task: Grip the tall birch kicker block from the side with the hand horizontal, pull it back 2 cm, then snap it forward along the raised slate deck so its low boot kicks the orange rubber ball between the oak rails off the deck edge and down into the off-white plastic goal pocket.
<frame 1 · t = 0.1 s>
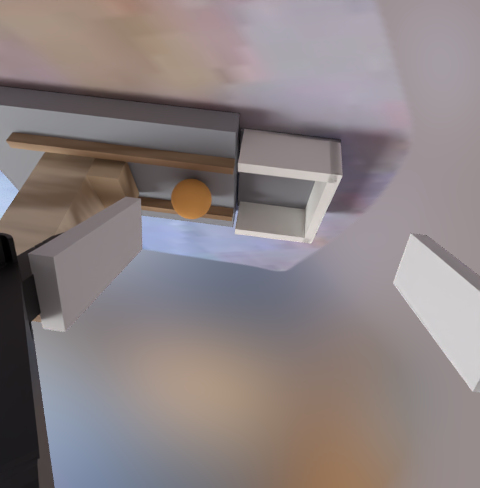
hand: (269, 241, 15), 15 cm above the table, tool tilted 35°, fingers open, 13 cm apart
ball: (195, 184, 31), point 2 cm above the table, touching deck
lane rails: (133, 176, 32), resting on deck
kicker: (64, 233, 28), point 10 cm above the table, slide at 2.0 cm
deck: (118, 156, 33), on the table
goal: (281, 176, 32), on the table
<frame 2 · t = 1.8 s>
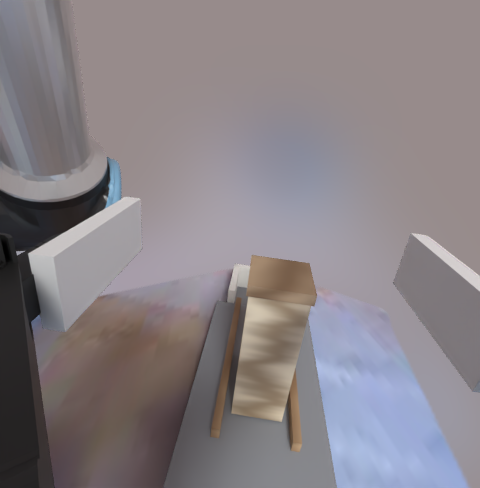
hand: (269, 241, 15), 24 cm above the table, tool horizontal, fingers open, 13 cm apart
lane rails: (259, 358, 37), resting on deck
kicker: (268, 331, 30), point 10 cm above the table, slide at 2.0 cm
deck: (255, 389, 36), on the table
goal: (260, 303, 52), on the table
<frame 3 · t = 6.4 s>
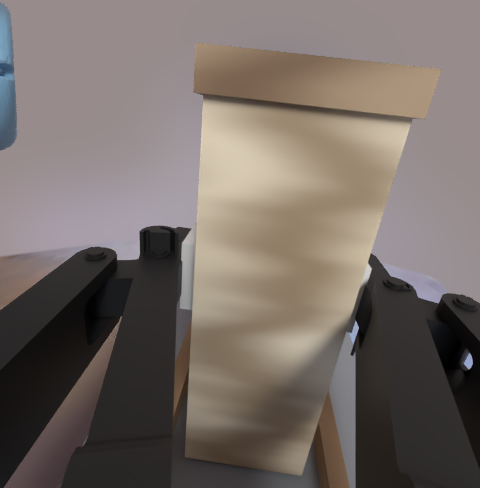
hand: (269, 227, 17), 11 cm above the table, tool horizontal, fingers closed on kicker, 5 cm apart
lane rails: (251, 340, 20), resting on deck
kicker: (268, 268, 13), point 10 cm above the table, slide at 2.0 cm, touching gripper
deck: (244, 399, 19), on the table
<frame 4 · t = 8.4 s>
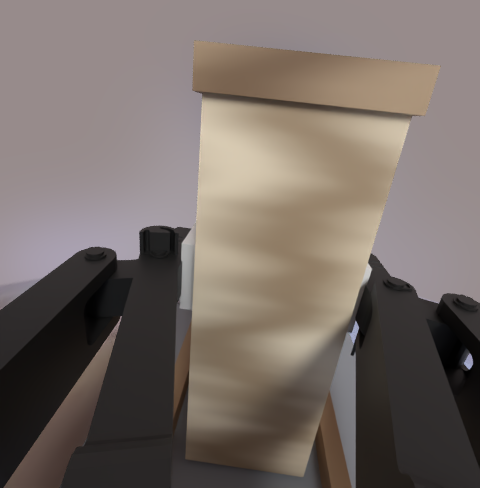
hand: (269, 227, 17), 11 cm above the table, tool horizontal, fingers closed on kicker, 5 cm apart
lane rails: (244, 455, 13), resting on deck
kicker: (268, 268, 13), point 10 cm above the table, slide at 9.4 cm, touching gripper
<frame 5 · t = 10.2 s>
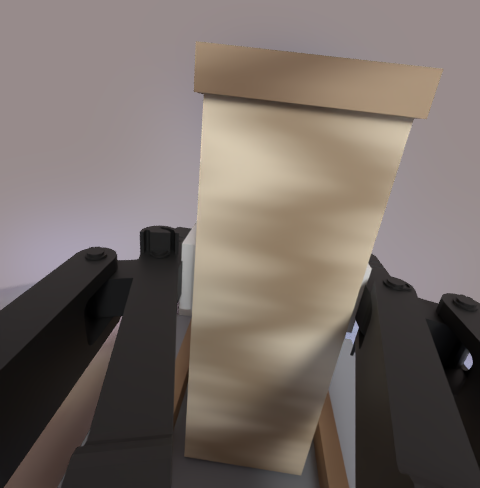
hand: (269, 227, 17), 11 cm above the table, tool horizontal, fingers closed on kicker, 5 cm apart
kicker: (268, 267, 13), point 10 cm above the table, slide at 10.9 cm, touching gripper
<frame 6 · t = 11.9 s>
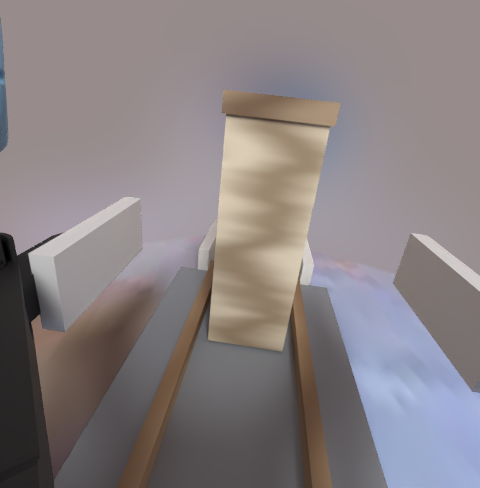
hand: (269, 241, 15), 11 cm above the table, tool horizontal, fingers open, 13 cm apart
lane rails: (243, 358, 19), resting on deck
kicker: (262, 220, 21), point 10 cm above the table, slide at 10.9 cm
deck: (234, 421, 18), on the table
goal: (252, 275, 34), on the table
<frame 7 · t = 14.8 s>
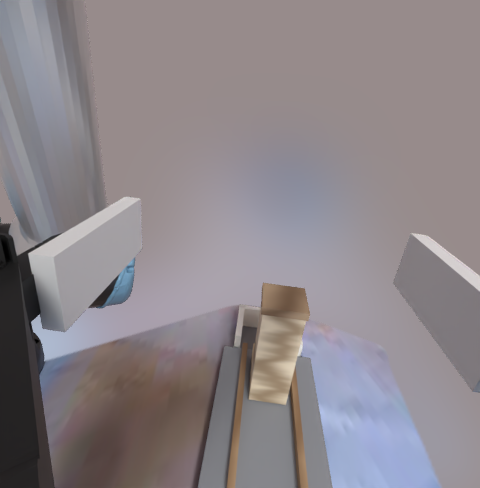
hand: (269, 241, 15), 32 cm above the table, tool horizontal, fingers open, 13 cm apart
lane rails: (266, 409, 40), resting on deck
kicker: (275, 338, 41), point 10 cm above the table, slide at 10.9 cm
deck: (264, 440, 38), on the table
goal: (265, 343, 55), on the table
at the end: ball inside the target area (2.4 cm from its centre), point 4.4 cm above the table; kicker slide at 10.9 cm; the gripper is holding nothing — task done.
